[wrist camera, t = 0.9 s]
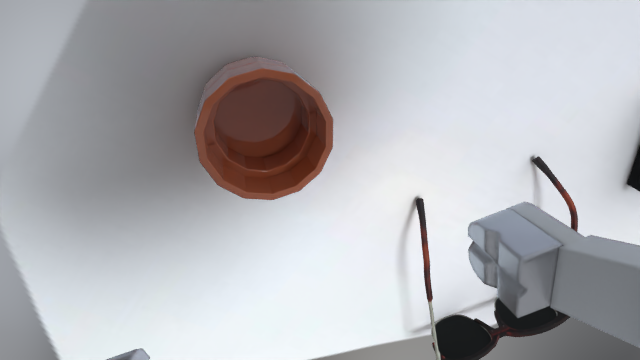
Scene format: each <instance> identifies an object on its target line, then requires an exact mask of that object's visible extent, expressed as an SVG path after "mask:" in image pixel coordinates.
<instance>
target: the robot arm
mask: <svg viewBox="0 0 640 360" xmlns="http://www.w3.org/2000/svg"><path fill="white" fill-rule="evenodd" d="M468 236H469V237H470V238H471V239H472V240H473V242H472V244H471V245H470V247H469V249H468V251H469V260H470V263H471V265H472V268H473V270H474V271H475V273H476V274H477V276H478V277H479V278H480V279H481V280H482V282H483V283H484V284H486V285H489V286H492V287H495V288H497V297H498V298H499V299H500V300H501V301H502V302H503V303H504V304H505V305H506V306H507V308H508V309H509V310H510V311H511V312H512V313H513V314H514V315H515V316H516V317H517V318H519V317H522V316H525V315H527V314H530V313H532V312H535V311H537V310H540V309H543V308H545V307H548V306H550V305H551V307H550V308H553V309H555V310H557V311H559V312H562V313H564V314H566V315H568V316H570V317H573V318H575V319H577V320H579V321H581V322H584V323H586V324H588V325H590V326H593V327H595V328H597V329H599V330H602V331H604V332H606V333H608V334H610V335H612V336H615V337H617V338H619V339H621V340H624V341H626V342H628V343H630V344H632V345H635V346H637V347H639V348H640V246H639V245H634V244H630V243H625V242H620V241H616V240H611V239H607V238H602V237H597V236H593V235H590V236H587V237H584V236H582V235H581V234H579V233H578V232H576V231H574V230H573V229H571V228H570V227H568V226H567V225H565V224H563V223H562V222H560V221H559V220H557V219H555V218H554V217H552V216H551V215H549V214H547V213H546V212H544V211H543V210H541V209H539V208H538V207H536V206H535V205H533V204H531V203H528V202H522V203H520V204H517V205H515V206H512V207H510V208H507V209H506V210H502V211H499V212H497V213H494V214H492V215H489V216H486V217H484V218H481V219H479V220H476V221H474V222H471V223H470V225H469V227H468ZM149 359H150V357H149V355H148V354H147V353H146V352H145V351H144V350H143V349H135V350H132V351H129V352H127V353H124V354H121V355H118V356H115V357H112V358H109V359H107V360H149Z"/></svg>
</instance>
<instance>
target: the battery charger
mask: <svg viewBox="0 0 640 360" xmlns="http://www.w3.org/2000/svg"><path fill="white" fill-rule="evenodd" d="M628 185H630V186H631V187H633V188H635V189H636V190H638V191H640V147H639V150H638V153H637V156H636V159H635V162H634V166H633V169H632V172H631V175H630V178H629V181H628Z"/></svg>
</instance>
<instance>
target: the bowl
mask: <svg viewBox="0 0 640 360" xmlns="http://www.w3.org/2000/svg"><path fill="white" fill-rule="evenodd" d="M194 134H195V139H196V145H197V150H198V156H199V161H200V163H201V164H202V166H203V167H204V168H205V169H206V171H207V172H208V173H209V175H210V176H211V177H212V178H213V180H214V181H215V182H216V184H217V185H219V186H220V187H222V188H224V189H226V190H228V191H230V192H232V193H234V194H236V195H238V196H240V197H242V198H246V199H263V200H274V199H277V198H280V197H283V196H286V195H289V194H292V193H295V192H298V191H300V190H301V189H302V188H303V187H305V186H306V185H307V184H308V183H309V182H310V181H311V180H313V179H314V178H315V177H316V176H317V175H318V174H319V173H320V172H321V171H322V169H323V166H324V164H325V162H326V160H327V158H328V156H329V154H330V152H331V150H332V147H333V118H332V116H331V114H330V112H329V110H328V108H327V106H326V104H325V102H324V100H323V98H322V96H321V94H320V92H319V91H317V90H316V89H315V88H314V87H313V86H312V85H311V84H309V83H308V82H307V81H306V80H305V79H304V78H303V77H301V76H300V75H299V74H297V73H296V72H295V71H293V70H292V69H291V68H289V67H288V66H287V65H286V64H284V63H283V62H281V61H277V60H271V59H266V58H261V57H256V56H255V57H249V58H246V59H242V60H239V61H235V62H232V63H228V64H226V65H225V66H224V67H223V68H222V69H221V70H220V71H218V72H217V73H216V74H215V75H214V76H213V77H212V78H211V79H210V80H209V81H208V82H207V83H206V85H205V88H204V91H203V94H202V97H201V100H200V103H199V106H198V111H197V117H196V124H195V130H194Z"/></svg>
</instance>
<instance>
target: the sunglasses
mask: <svg viewBox="0 0 640 360" xmlns="http://www.w3.org/2000/svg"><path fill="white" fill-rule="evenodd" d="M532 161H533V162H534V163H535V165H536V166H537V167H538V168H539V169H540V170H541V171H543V172H544V173H545V174H546V175H547V177H548V178H549V179H550V180H551V182H552V183H553V184H554V186H555V187H556V188H557V190H558V191H559V192H560V194H561V195H562V197H563V198H564V200H565V201H566V203H567V205H568V207H569V210H570V214H571V229H573V230H574V231H576V232H577V228H578V218H577V211H576V208H575V205H574V203H573V201H572V199H571V198H570V196H569V194H568V193H567V192H566V190H565V189H564V188H563V186H562V185H561V183H560V182H559V181H558V180H557V178H556V177H555V176H554V174H553V173H552V172H551V170H550V169H549V168H548V166H547V165H546V164H545V163H544V161H543V160H542V159H541V158H540V157H537V158H535V159H534V160H532ZM416 205H417V210H418V214H419V220H420V229H421V239H422V250H423V259H424V278H425V287H426V294H427V299H428V304H429V310H430V317H431V324H432V330H431V332H432V337H433V340H434V343H432V344H433V348H434V351H435V353H436V360H479V359H480V358H482V357H484V356H485V355H486V354H488V353H489V352H490V351H491V350H492V349H493V348H494V347H495V346H496V344H497V342H498V340H499V338H501V337H503V336H512V337H524V336H532V335H536V334H540V333H543V332H546V331H549V330H551V329H553V328H555V327H557V326H558V325H560V324H562V323H563V322H565V321H566V320H567V319H568V318H570V316H568V315H566V314H564V313H562V312H559V311H557V310H555V309H553V308H550V307H551V305H550V306H548V307H545V308H543V309H540V310H537V311H535V312H532V313H530V314H527V315H525V316H522V317H519V318H517V317H516V316H515V315H514V314H513V313H512V312H511V311H510V310H509V309H508V308H507V306H506V305H505V304H504V303H503V302H502V301H501V300H500V299H499V298H498V297H497V298H496V300H495V303H494V306H495V311H494V315H495V318H496V321H497V323H498V325H499V328H496V329H494V328H492V327H490V326H488V325H487V324H485V323H484V322H482V321H480V320H478V319H477V318H476V319H474V320H473V319H471V318H469V317H467V316H464V315H459V314H455V315H450V316H447V317H445V318H443V319H441V320H439V321H438V322H437V323H434V315H433V308H432V299H433V296H432V289H431V280H430V260H429V251H428V241H427V230H426V220H425V210H424V202H423V199H422V198H420V199H417V200H416Z"/></svg>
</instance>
